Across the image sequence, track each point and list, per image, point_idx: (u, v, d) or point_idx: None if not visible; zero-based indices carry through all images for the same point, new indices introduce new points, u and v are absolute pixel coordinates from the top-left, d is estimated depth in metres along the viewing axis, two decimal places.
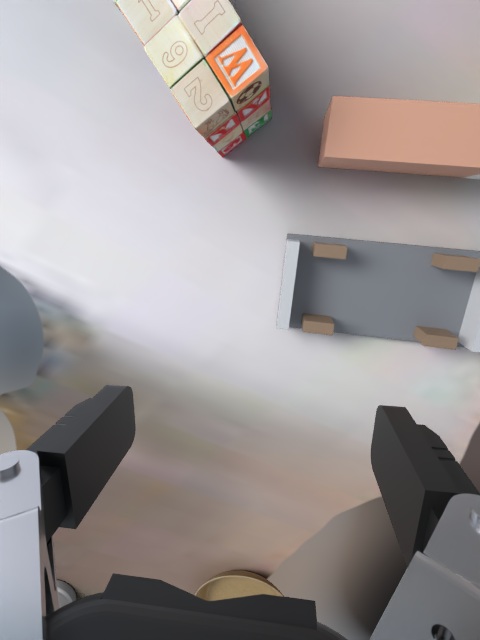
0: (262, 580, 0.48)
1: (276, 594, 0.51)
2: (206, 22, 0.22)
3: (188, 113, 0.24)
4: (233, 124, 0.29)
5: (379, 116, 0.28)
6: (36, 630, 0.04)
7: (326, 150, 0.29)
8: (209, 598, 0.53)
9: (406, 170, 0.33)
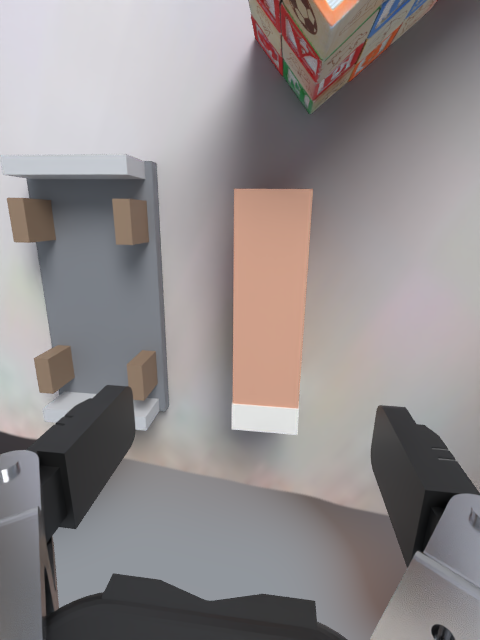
0: None
1: None
2: None
3: None
4: (274, 15, 0.17)
5: (286, 257, 0.21)
6: (36, 630, 0.04)
7: (242, 190, 0.20)
8: None
9: None
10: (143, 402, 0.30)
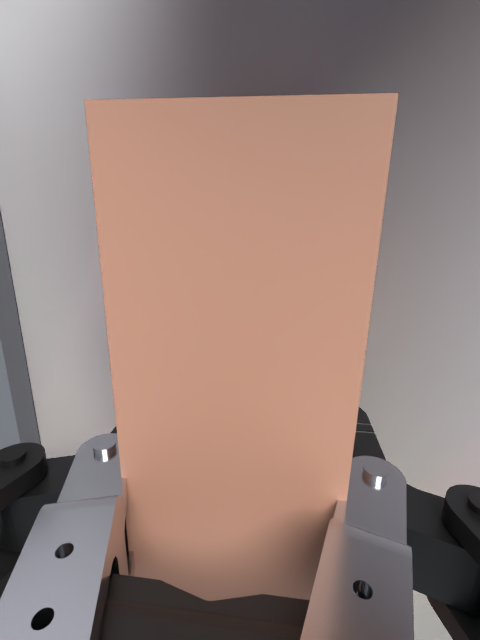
0: None
1: None
2: None
3: None
4: None
5: (288, 355, 0.06)
6: (36, 630, 0.04)
7: (115, 106, 0.05)
8: None
9: None
10: None
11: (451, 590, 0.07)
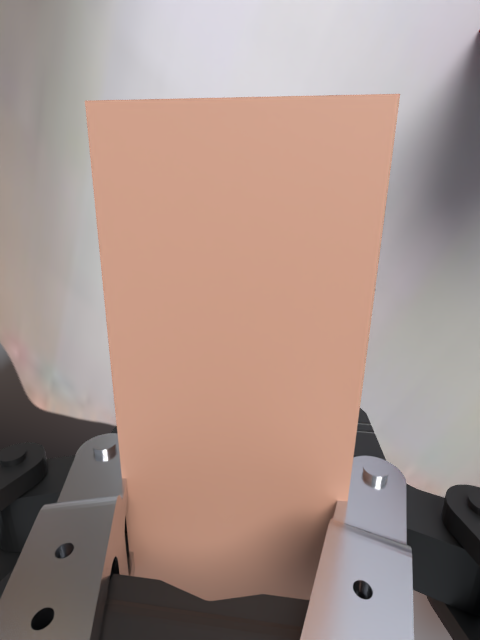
0: None
1: None
2: None
3: None
4: None
5: (288, 356, 0.06)
6: (36, 630, 0.04)
7: (115, 107, 0.05)
8: None
9: None
10: None
11: (451, 590, 0.07)
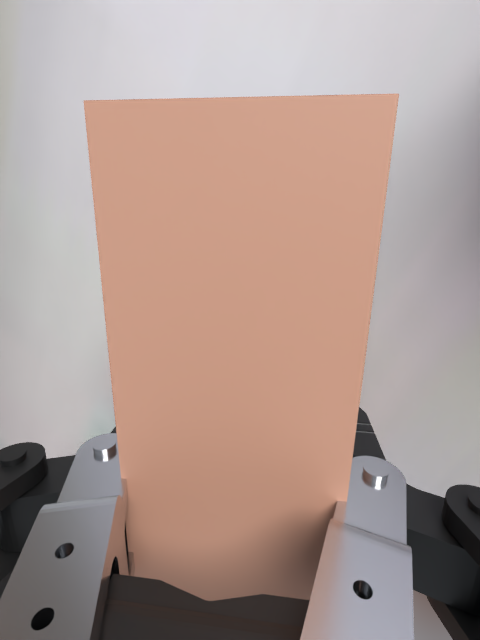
0: None
1: None
2: None
3: None
4: None
5: (287, 356, 0.06)
6: (36, 630, 0.04)
7: (114, 107, 0.05)
8: None
9: None
10: None
11: (451, 590, 0.07)
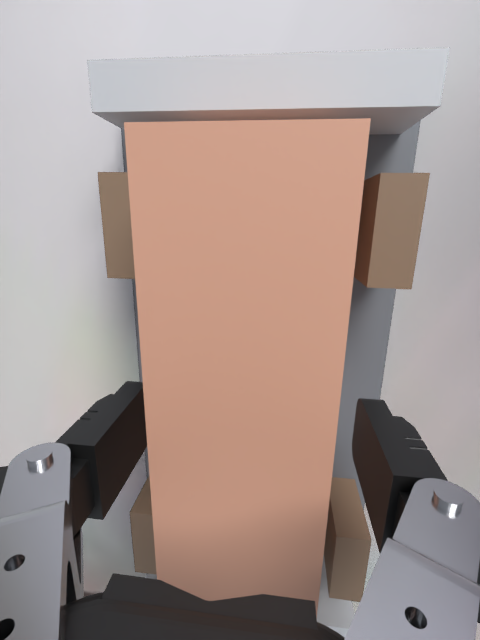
0: None
1: None
2: None
3: None
4: None
5: (285, 327, 0.07)
6: (36, 630, 0.04)
7: (148, 127, 0.07)
8: None
9: None
10: (323, 571, 0.16)
11: None
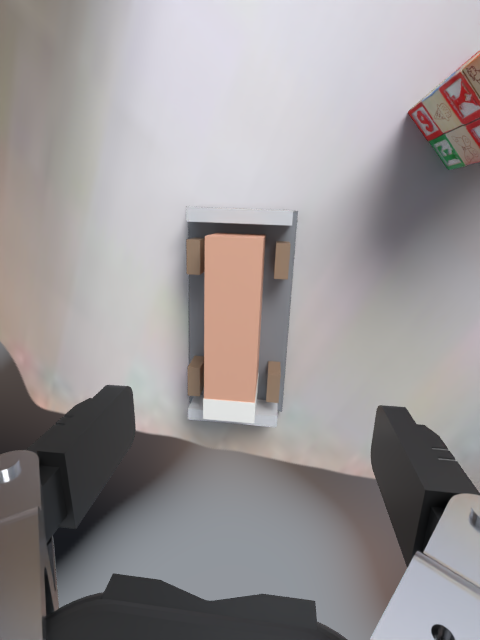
0: None
1: None
2: None
3: None
4: (465, 114, 0.23)
5: (244, 288, 0.28)
6: (36, 630, 0.04)
7: (210, 237, 0.27)
8: None
9: None
10: (267, 404, 0.36)
11: None
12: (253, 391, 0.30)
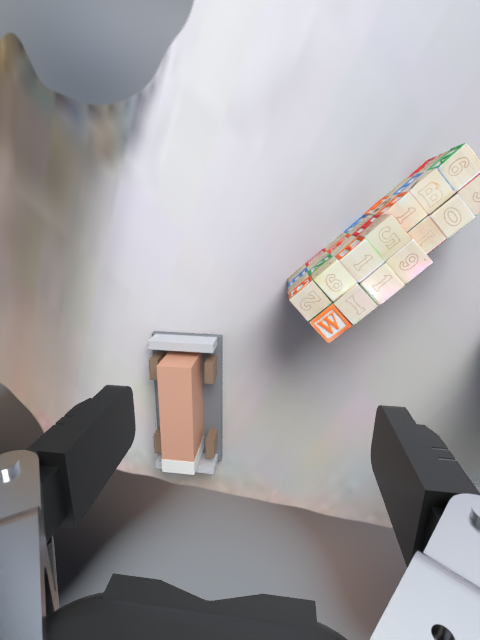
0: None
1: None
2: (352, 303, 0.34)
3: (298, 294, 0.34)
4: None
5: (182, 395, 0.45)
6: (36, 630, 0.04)
7: (160, 366, 0.44)
8: None
9: None
10: None
11: None
12: (192, 455, 0.47)
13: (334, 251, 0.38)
